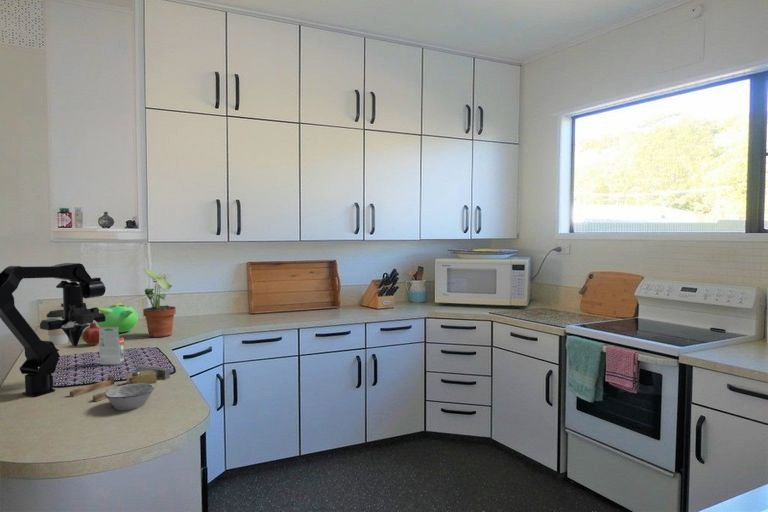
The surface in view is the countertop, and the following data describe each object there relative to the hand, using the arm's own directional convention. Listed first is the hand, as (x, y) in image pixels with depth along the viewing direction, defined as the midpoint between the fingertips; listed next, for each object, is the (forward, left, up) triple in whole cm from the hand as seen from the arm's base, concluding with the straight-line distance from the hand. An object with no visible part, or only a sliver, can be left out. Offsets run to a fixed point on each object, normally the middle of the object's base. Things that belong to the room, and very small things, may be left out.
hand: (74, 346), depth 169 cm
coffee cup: (+35, +64, -12) cm, 73 cm away
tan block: (+8, -22, -12) cm, 26 cm away
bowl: (-9, -37, -12) cm, 40 cm away
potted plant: (+64, +33, -12) cm, 73 cm away
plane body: (-4, -19, -12) cm, 23 cm away
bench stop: (+15, -19, -12) cm, 27 cm away
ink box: (+20, +9, -12) cm, 25 cm away
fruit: (+38, +45, -12) cm, 60 cm away
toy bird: (+61, +59, -12) cm, 86 cm away
